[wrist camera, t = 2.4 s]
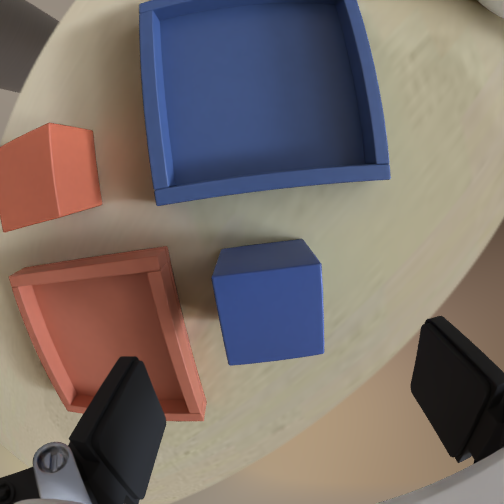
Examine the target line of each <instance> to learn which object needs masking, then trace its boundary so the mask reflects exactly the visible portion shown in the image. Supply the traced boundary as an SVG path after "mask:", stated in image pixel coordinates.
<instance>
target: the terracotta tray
mask: <svg viewBox="0 0 504 504" xmlns="http://www.w3.org/2000/svg"><path fill="white" fill-rule="evenodd" d="M9 280H10V283H11V286H12V290H13V293H14V296H15V299H16V302H17V305H18V308H19V311H20V313H21V316H22V319H23V321H24V324H25V326H26V329H27V331H28V334H29V336H30V339H31V341H32V343H33V345H34V348H35V350H36V352H37V354H38V357H39V359H40V361H41V363H42V365H43V367H44V369H45V371H46V373H47V375H48V377H49V379H50V381H51V383H52V384H53V386H54V388H55V390H56V392H57V394H58V395H59V397H60V399H61V401H62V402H63V404H64V406H65V407H66V409H67V411H70V412H76V413H83V414H84V412H85V411H86V409H87V407H88V406H89V404H90V403H91V401H92V399H93V398H94V396H95V394H96V393H97V391H98V390H99V388H100V387H101V385H102V383H103V382H104V380H105V379H106V377H107V376H108V374H109V372H110V371H111V369H112V368H113V366H114V365H115V363H116V362H117V360H118V359H119V358H120V357H121V356H136V357H137V358H138V359H139V361H143V362H144V364H145V367H146V370H147V372H148V375H149V378H150V380H151V383H152V385H153V388H154V390H155V393H156V395H157V398H158V400H159V403H160V405H161V407H162V410H163V412H164V414H165V417H166V421H204V415H205V409H206V403H207V402H206V398H205V395H204V392H203V389H202V385H201V382H200V378H199V375H198V372H197V368H196V365H195V361H194V357H193V354H192V350H191V346H190V343H189V339H188V335H187V331H186V327H185V323H184V319H183V315H182V311H181V307H180V303H179V298H178V294H177V289H176V285H175V280H174V276H173V271H172V266H171V262H170V257H169V252H168V247H167V246H164V247H157V248H150V249H143V250H136V251H129V252H122V253H115V254H108V255H102V256H95V257H88V258H82V259H75V260H69V261H62V262H56V263H49V264H43V265H37V266H31V267H25V268H23V269H21V270H19V271H17V272H16V273H14V274H12V275H10V276H9Z"/></svg>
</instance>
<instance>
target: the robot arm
mask: <svg viewBox="0 0 504 504" xmlns="http://www.w3.org/2000/svg"><path fill="white" fill-rule="evenodd" d="M411 392H412V394H413V396H414V397H415V399H416V400H417V402H418V404H419V405H420V407H421V408H422V410H423V412H424V413H425V415H426V416H427V418H428V420H429V421H430V423H431V425H432V426H433V428H434V430H435V431H436V433H437V435H438V436H439V438H440V440H441V441H442V443H443V445H444V447H445V448H446V450H447V452H448V453H449V455H450V456H451V457H455V459H456V460H457V462H458V463H460V462H462V461H464V460H466V459H468V458H470V457H471V456H473V458H474V464H473V465H471V466H469V467H467V468H465V469H463V470H461V471H459V472H457V473H455V474H453V475H451V476H448V477H446V478H444V479H442V480H440V481H437V482H435V483H433V484H430V485H428V486H425V487H423V488H420V489H418V490H415V491H412V492H410V493H407V494H405V495H401V496H398V497H395V498H392V499H389V500H386V501H383V502H379V503H376V504H504V373H503V371H502V370H501V369H500V368H499V367H498V366H496V365H495V364H494V363H493V362H492V361H491V360H490V359H489V358H488V357H487V356H486V355H485V354H484V353H483V352H482V351H481V350H480V349H479V348H478V347H476V346H475V345H474V344H473V343H472V342H471V341H470V340H469V339H468V338H467V337H465V336H464V335H463V334H462V333H461V332H460V331H459V330H458V329H457V328H455V327H454V326H453V325H452V324H451V323H450V322H449V321H447V320H446V319H445V318H444V317H442V316H438V317H434V318H430V319H427V320H426V321H425V324H423V325H422V327H421V331H420V338H419V344H418V350H417V356H416V361H415V366H414V371H413V376H412V381H411ZM165 427H166V417H165V414H164V412H163V410H162V407H161V405H160V403H159V400H158V398H157V395H156V393H155V390H154V388H153V385H152V383H151V380H150V378H149V375H148V372H147V370H146V367H145V364H144V362H143V361H139V359H138V358H137V357H136V356H121V357H120V358H119V359H118V360H117V362H116V363H115V365H114V366H113V368H112V369H111V371H110V372H109V374H108V376H107V377H106V379H105V380H104V382H103V383H102V385H101V387H100V388H99V390H98V391H97V393H96V394H95V396H94V398H93V399H92V401H91V403H90V404H89V406H88V407H87V409H86V411H85V412H84V414H83V416H82V417H81V419H80V421H79V422H78V424H77V426H76V427H75V429H74V431H73V432H72V434H71V436H70V437H69V440H70V443H69V445H68V446H67V445H66V444H64V443H61V442H51V443H47V444H45V445H43V446H42V447H41V448H39V449H38V450H37V452H36V453H35V455H34V458H33V467H31V468H28V469H26V470H23V471H20V472H17V473H14V474H11V475H8V476H5V477H2V478H0V504H138V503H139V500H140V499H143V498H144V497H145V494H146V490H147V487H148V483H149V480H150V476H151V473H152V470H153V466H154V463H155V459H156V456H157V453H158V449H159V446H160V443H161V440H162V436H163V433H164V430H165Z"/></svg>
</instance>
